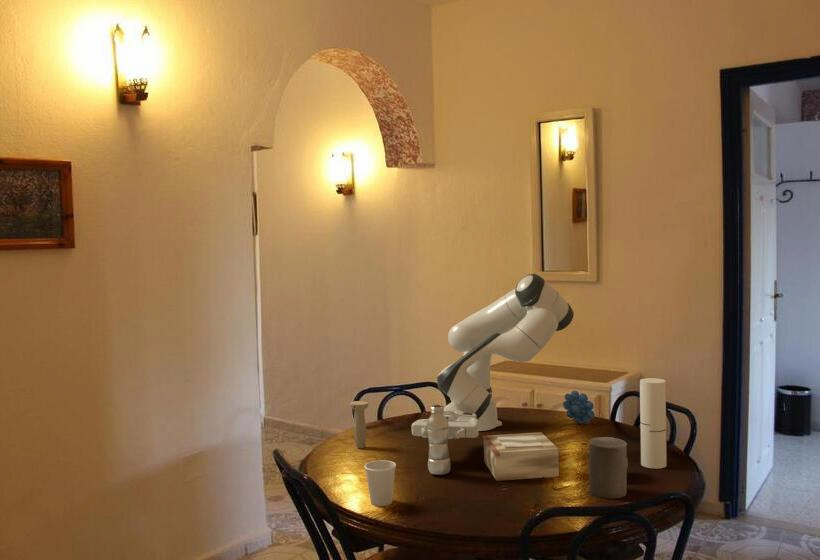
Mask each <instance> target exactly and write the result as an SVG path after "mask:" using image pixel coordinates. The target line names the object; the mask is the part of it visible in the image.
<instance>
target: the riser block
mask: <svg viewBox="0 0 820 560" xmlns="http://www.w3.org/2000/svg"><path fill="white" fill-rule="evenodd" d="M482 438H483V439H482V440H483V462H484V464H485V466H486V467H487V468H488V469H489V472H490V473H491V474H492V476H493V477H494V479H495V481H511V480H525V479H542V478H543V477H544V478H556V477H557V478H558V476H559V477H560V469H559V468H560V467H559V464H560V463H559V459H560V458H559V448H558V447H557V446H556V445H555V444H554V443H553V442H552V441H551V440H550V439H549V438H548V437H547V436H546V435H544V433H543V432H542V431H541V432H524V433H508V434H507V433H506V434H493V435H491V434H490V435H482Z"/></svg>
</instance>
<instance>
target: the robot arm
mask: <svg viewBox="0 0 820 560" xmlns="http://www.w3.org/2000/svg"><path fill="white" fill-rule="evenodd" d="M574 315H575V314H574V310H573V308H572V306H571V305H570V304H569V303H568V302H567V301H566V300H565V298H564V297H563V296H562V295H561V294H560V292H558V290H556V289H555V288H553V286H552V285H550V284H549V283H548V282H547V281H545V279H544V278H543V277H542V276H540V275H538V274H537V273H530V274H527V275H525V276H524V277H522V278H521V279H520V280H519V281H518V282H517V284H516V286H515V288H514V289H511V290H510V291H508V292H507V293H505V294H503V295H502V296H501V297H499V298H497V299H496V300H495V301H493V302H492V303H490V304H489V305H487V306H485V307H483V308H482V309H479V310H477V311H476V312H474V313H473V314H471V315H469V316H467V317H466V318H464V319H462V320H461V321H459V322H457V323H456V324H454V325H453V326H452V327H451V328H450V329H449V330H448V331H449V332H448V335H447V340H448V344H449V345H450V347H451V348H452V349H453V350H455V351H456V352H461V353H463V354H462V355H463V356H461V357H460V358H458V359H457V360H456V361H455V362H453V363H451V364H449V365H447V366H446V367H444V368H443V369H442V370H441V371H440V372H439V374H438V376H437V377H436V382H437V388H438V390H439V391H441V392H442V393H443V394H444V395H446V396H448V397H449V398H450V399H451V400H452V401H451V402H449V403H447V404H446V405H445V406H444V413H443V415H444V416H445V417H446V419H447V420H448V423H449V429H448V440H451V439H455V440H457V439H460V438H471V439H473V438H478V437H479V432H483V431H485V432H486V431H490V430H493V429H495V428H497V427H500V426H503V422H502V421H501V420H498V411H497V409H498V408H497V403H496V401H495V400H493V398H492V397H493V390H492V388H493V387H492V386H491V361H492V354H494V355H498V356H501V357H503V358H505V359H508V360H509V361H510V360H511V361H513V362H517V363H526V362H529V361H531V360H532V359H533V358H535V357H536V356H537V355H538V354H539V353H540V352H541V350H543V349H544V347H545V346H546V345H548V343H549V341H550V340H552V337H553V336H554V335H555V333H556V332H559V331H562V330H564V329H566V328H567V327H568V326H569V325H570V324H571V323H572V321H573V319H574ZM428 419H429V418H420V419H418V420H415V421H413V423H412V424H411V428H410V429H411V435H412V436H415V437H422V438H428V433H427V427H426V423H427V420H428Z"/></svg>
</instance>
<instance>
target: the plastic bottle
mask: <svg viewBox="0 0 820 560" xmlns="http://www.w3.org/2000/svg"><path fill="white" fill-rule="evenodd" d="M444 408H445V406H444V405H442V404H433V405H431V406H430V412H429V413H431V415H429V417H428V418H427V419H428V420H427V423H426V427H427V433H428V437H427V438H428V459H427V468H428V471H429V473H430V474H432V475H436V476H439V475H440V476H443V475H447V474H449V472H450V471H451V467H452V466H451V465H452V463H451V458H450V455H449V448H448V447H449V445H448V444H449V443H448V440H449V439H448V429H449V423H448V420H447V419H446V417H445V416H444V415H443V413H444Z"/></svg>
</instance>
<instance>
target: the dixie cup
mask: <svg viewBox="0 0 820 560" xmlns="http://www.w3.org/2000/svg"><path fill="white" fill-rule="evenodd" d="M396 467H397V464H396V462H394V461H391V460H383V459H381V460H380V459H378V460H373V461H370V462H367V463H365V465H364V466H363V468H364V469H365V474H366V480H367V481H366V482H367V485H368V486H367V487H368V492H369V493H368V494H369V498H370V504H371V505H372V506H375V507H384V506H389V505H391V504H392V503H393V500H394V499H393V498H394V485H395V473H396Z"/></svg>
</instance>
